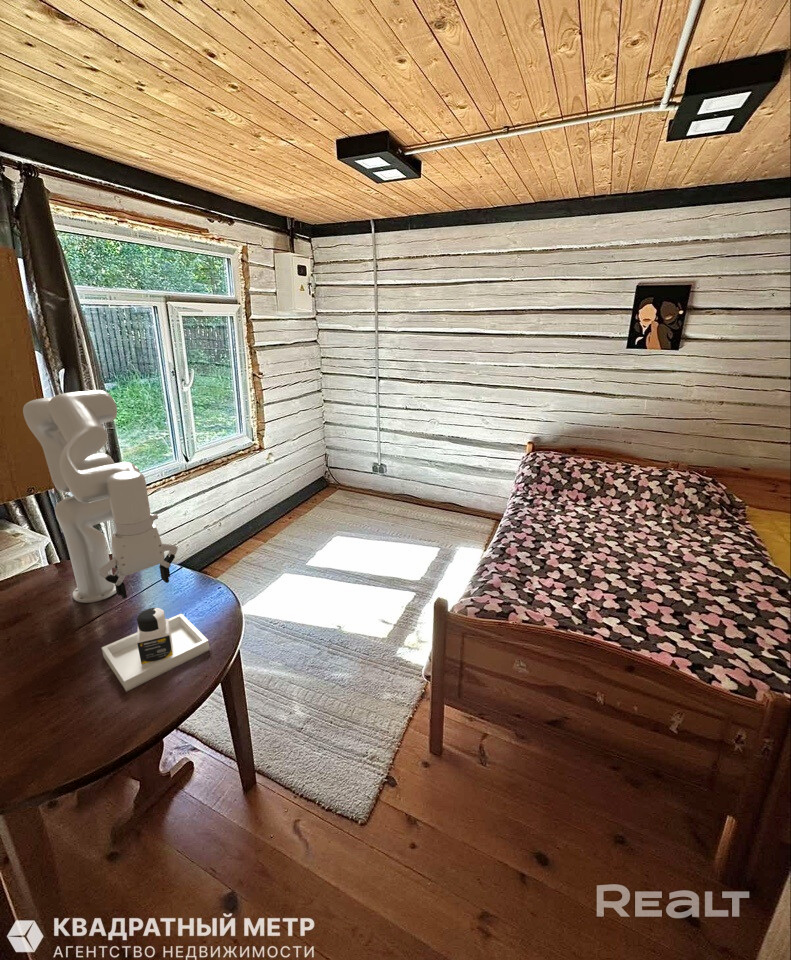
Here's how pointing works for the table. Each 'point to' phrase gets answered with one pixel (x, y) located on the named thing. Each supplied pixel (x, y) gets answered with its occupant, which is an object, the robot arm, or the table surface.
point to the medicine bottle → (153, 636)
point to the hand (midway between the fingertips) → (144, 588)
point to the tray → (133, 673)
